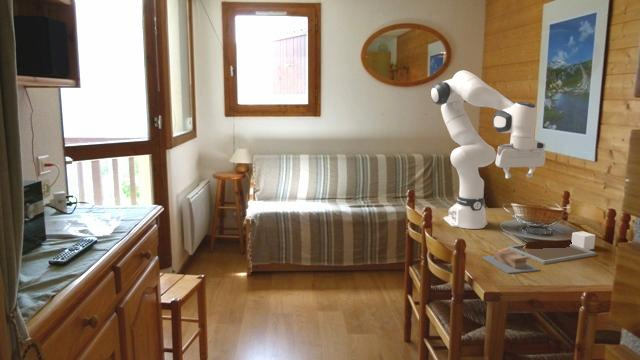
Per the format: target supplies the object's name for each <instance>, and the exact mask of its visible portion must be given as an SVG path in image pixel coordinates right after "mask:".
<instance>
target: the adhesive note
mask: <svg viewBox="0 0 640 360" xmlns="http://www.w3.org/2000/svg"><path fill="white" fill-rule="evenodd" d="M571 242H572V244H573V245H575V246H578V247H581V248H584V249H587V250H590V251H591V250H595V242H596V234H594V233H590V232H586V231H583V230H582V231H574V232H572V233H571Z"/></svg>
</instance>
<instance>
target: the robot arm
mask: <svg viewBox="0 0 640 360" xmlns="http://www.w3.org/2000/svg"><path fill="white" fill-rule="evenodd" d="M429 93H430V94H429V95H430V97H431V98H430V99H431V100H432V102H433V103H435V105H438V106H439V105H440V106H441V107H440V112H441V115H442V119H443V122H444V125H445V127H446V128H447V129H446V130H447V132H448V133H449V136H450V138H451V139H452V141H453V142H455V143H457V144H458V145H459V146H458V147H456V148H454V149H453V150H452V151H451V153H450V162H451V165H452V166H453V167H454V168H455V170H456V171H457V175H458V178H459V179H458V180H459V193H458V194H459V195H457V196H456V203H455V204H453V205H452V206H451V207H449V209H448V211H447V212H448V215H446V216H444V217H443V220H444V221H445V222H447V223H448V225H449V226H450V227H454V228H461V229H468V230H469V229H470V230H473V229H474V230H477V229H478V230H480V229H483V228H485V227H486V226H487V225H488V224H489V223H488V221H487V217H486V207H485V206H484V205H485V197H484V195H485V193H484V191H485V190H484V189H485V180H484V179H483V178H482V177H481V175H480V173H479V168H484V167H487V166H489V165H491V164H492V163H494V162H495V166H496V167H497V168H501V169H502V168H503V169H502V170H503V171H504V174H505V176H504V177H505V179H509V180H510V179H512V173H510V172H509V171H510V169H511V168H528V169H529V171H528V172H525V173H526V174H525V177H526V178H528V179H532V177H533V174H534V172H535V171H536V168H537V167H538V168H539V167H541V168H542V167H543V166H545V164H546V150H545V149H546V143H545V142H542V141H540V140H539V141H538V140H537V139H536V137H535V136H536V135H535V131H536V130H535V129H536V127H537V119H538V118H537V117H538V109H537V106H536V105H535V104H534V103H532V102H528V101H516V102H515V101H513V100H512V99H511V98H509V97H508V96H506V95H504V94H502V93H501V92H499V91H498V90H496V89H495V88H493V87H491V86H490V85H488V84H487V83H486V82H485V81H483V80H482V79H481V78H479V77H478V76H477V75H476V74H474V73H473V72H470V71H468V70H464V69H463V70H459V71H457V72H455V74H454V75H453V77H452V78H449V79H447V80H444V81H439V82H436V83H435V84H433V85H432V87H431V89H430V91H429ZM464 103H468V104H470V105H471V106H473V107H482V108H491V109H495V110H497V111H496V112H495V113H494V115H493V116H492V127H493V129H494V130H495V131H496V132H497V133H500V134H510V139H509V142H510V143H502V144H501V145H499V146H498V147H497V152H496V150H495V148H494V147H493V146H492V145H490V144H489V143H487V142H486V141H485V140H484V139H483V138H482V137H481V136H480V134H479V133H478V132H477V130H476V129H475V127H474V126H473V124H472V122H471V119H470V118H469V115H468V114H467V112H466V110H465V107H464Z"/></svg>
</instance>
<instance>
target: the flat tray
mask: <svg viewBox="0 0 640 360" xmlns="http://www.w3.org/2000/svg"><path fill="white" fill-rule="evenodd" d="M525 244H526V243H524V244H516V245H510V246H507V247H506V248H507V249H509V250H511V251H514V252H516V253H517V254H519V255H522V256H524V257H526V259H528V258H530V260H532V259H533V260H532V261H534V260H535V261H534V262H537V263H539V264H542V265H546V264H547V265H548V264H554V263H559V262H565V261H571V260H577V259H581V258H582V259H583V258H588V257H594V256H597V252H595V251H593V250H591V249H590V250H587V249H584V248H581V247H578V246H575V245H573V244H571V243H570V245H569V246H570V247H566V248H543V249H528V250H529V251H528V250H527V249H526V250H527V252H528V253H527V252H525V251H526V250H525V249H523V247H524V246H525ZM516 248H517V249H516Z"/></svg>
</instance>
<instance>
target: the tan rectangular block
mask: <svg viewBox="0 0 640 360" xmlns="http://www.w3.org/2000/svg"><path fill="white" fill-rule="evenodd" d="M494 256H495V257H494V259H496V260H498V261H500V262H502V263H504V264H506V265H508V266H510V267H512V268H514V269H516V268H522V267H526V262H527V258H526V257H524V256H522V255H519V254H518V253H515V252H513V251H510V250H509V249H507V247H505V248H498V249H494Z"/></svg>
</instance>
